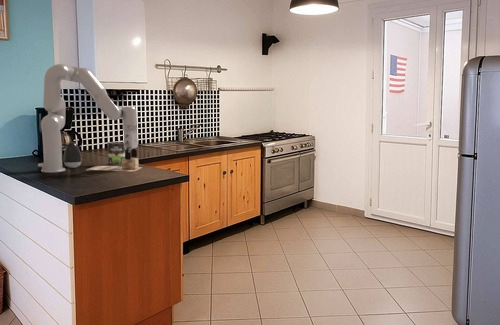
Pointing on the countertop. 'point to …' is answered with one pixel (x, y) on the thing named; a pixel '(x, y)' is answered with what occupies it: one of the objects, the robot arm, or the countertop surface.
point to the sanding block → (130, 164)
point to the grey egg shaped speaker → (72, 155)
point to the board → (110, 168)
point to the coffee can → (115, 153)
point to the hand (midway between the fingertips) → (131, 158)
